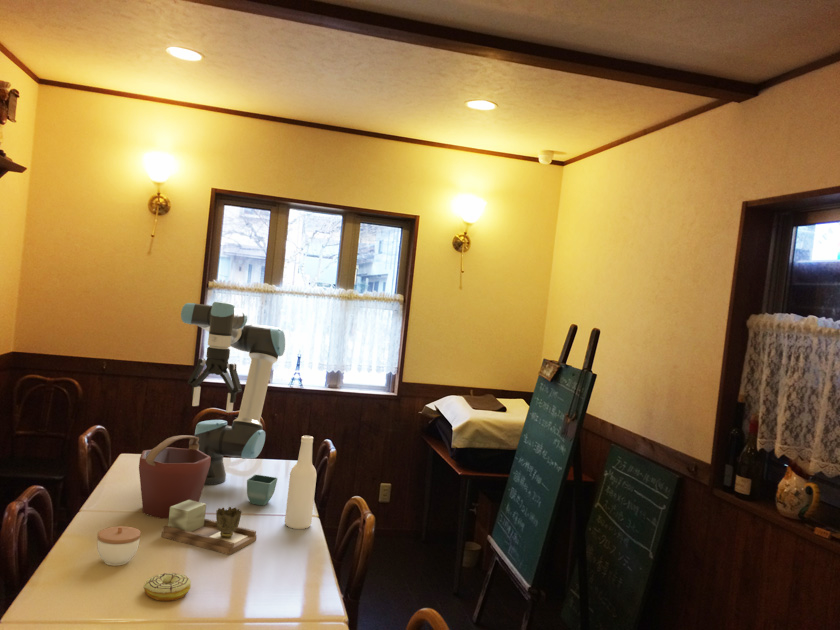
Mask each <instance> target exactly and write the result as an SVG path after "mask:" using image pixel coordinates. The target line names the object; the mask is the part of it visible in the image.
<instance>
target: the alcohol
mask: <svg viewBox="0 0 840 630" xmlns="http://www.w3.org/2000/svg"><path fill="white" fill-rule="evenodd" d="M300 442H301V443H300V447H299V453H298V458H297V461H296V464H295V465H293V467H292V468H291V470H290V473H289V481H288V490H287V497H286V498H287V499H286V506H285V507H286V508H285V515H284V516H285V517H284V523H285V526H286V527H287V526H288V528H290V529H292V528H293V530H305V528H306V529H308V528H309V527H310V526H311V524H312V520H313V519H312V518H313V513H314V511H313V510H314V504H315V503H314V502H315V493H316V483H317V470H316V468H315V466H314V465H313V443H314V437H313V436H311V435H303V436H301V439H300Z"/></svg>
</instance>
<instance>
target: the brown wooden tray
mask: <svg viewBox="0 0 840 630" xmlns="http://www.w3.org/2000/svg"><path fill="white" fill-rule="evenodd" d="M206 509H207V503H205V502H201V501H199V502H197V501H192V500H187V501H184V502H182V503H179V504H176V505H174V506H171V507H170V512H169V518H168V523H167V525H164V526H163V531H161V538H165V539H167V540H172V541H176V542H180V543H184V544H188V545H191V546H196V547H199V548H203V549H206V550H210V551H213V552H217V553H218V552H219V553H222V554H226V555H229V556H230V555H232V554H234V553H235V552H238V551H239V550H241V549H242V548H245V547H246V546H248V545H250V544H252V543H254V542H256V540H257V530H254V529H249V528H246V527H241V526H238V528H237V529H236V530H235V531H234V532H233V535H232V537H230V538H223V537H221V535H220V533H221V532H220V531H219V530H218V528H217V524H216V521H215V520H213V519H208V518H206Z"/></svg>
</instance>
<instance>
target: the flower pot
mask: <svg viewBox="0 0 840 630" xmlns="http://www.w3.org/2000/svg"><path fill="white" fill-rule="evenodd" d="M277 482H278V477H274V476H268V475H261V474H254V475H252V476H251V477H250V478H248V479H247V480H246V494H247V499H248V501H249V503H250V504H252V505H256V506H257V505H258V506H262V505H263V506H266V505H267V504H268V503H269V502H270V500H271V499H272V498H273V495H274V493H275V490H276V486H277Z"/></svg>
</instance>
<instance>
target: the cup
mask: <svg viewBox="0 0 840 630" xmlns="http://www.w3.org/2000/svg"><path fill="white" fill-rule="evenodd" d="M215 513H216V517H215V518H216V524H217V528H218V530H219V531H220V532H221V533H220V535H221V537H223V538H230V537H232V535H233V532H234V531H235V530H236V529H237V528H238V527H239V525H240V521H241V516H242V510H241V509H240V508H239V509H238V508H237V507H231V506H229V507H228V508H227V509H225V507H222V508H220V507H219V508H217V509H216V511H215Z"/></svg>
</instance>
